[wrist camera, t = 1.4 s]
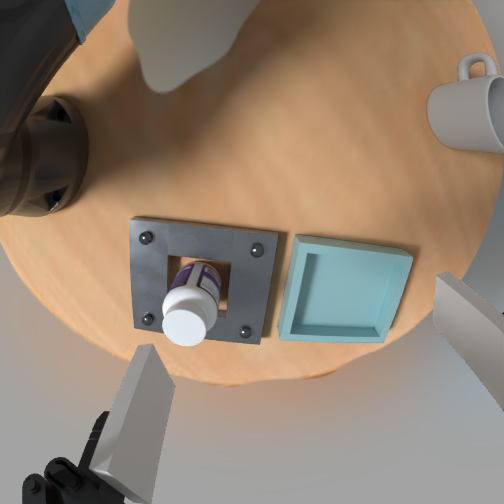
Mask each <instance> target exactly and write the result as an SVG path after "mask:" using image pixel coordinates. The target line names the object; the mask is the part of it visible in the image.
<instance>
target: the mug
mask: <svg viewBox="0 0 504 504" xmlns="http://www.w3.org/2000/svg"><path fill="white" fill-rule="evenodd" d="M477 62H484V64H485V68H486V74H485V76H483V77H479V78H474V79H470V78H469V68H470V67H471V65H473V64H474V63H477ZM427 117H428V121H429V124H430V127H431V129H432V131H433V133H434V135H435V136H436V137H437V139H438V140H439V141H440V142H441V143H442V144H444V145H445V146H447V147H449V148H451V149H457V150H472V151H482V152H490V153H498V154H504V76H501V75H499V74H498V69H497V66H496V63H495V61H494V60H493V58H492V57H490V56H489V55H487V54H484V53H473V54H470V55H467V56H465V57H464V58H463V59H462V60H461V61H460V62H459V64H458V82H454V83H449V84H444V85H441V86H438V87H436V88H435V89H434V90H433V91H432V92H431V93H430V95H429V98H428V101H427Z"/></svg>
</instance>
